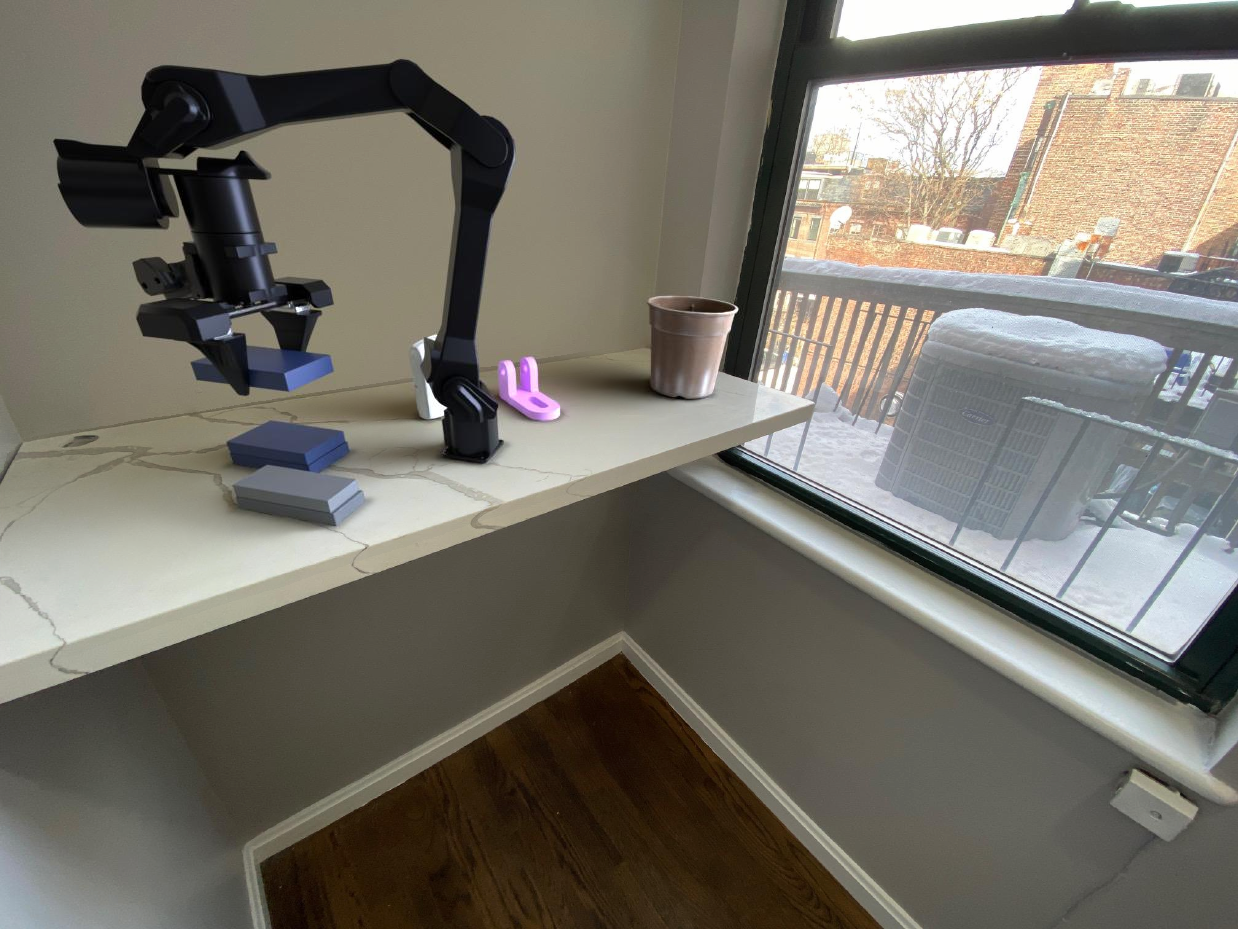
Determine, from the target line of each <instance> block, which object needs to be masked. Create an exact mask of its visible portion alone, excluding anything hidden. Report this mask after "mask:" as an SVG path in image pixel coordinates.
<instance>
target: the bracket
mask: <svg viewBox="0 0 1238 929" xmlns="http://www.w3.org/2000/svg"><path fill="white" fill-rule="evenodd" d="M537 364H538V363H537V361H536V359H535V358H534V357H533V356H526V357H525V356H524V357H521V359H520V361H519V372H520V373H519V374H520V375H519V376H520V385H517V374H516V368H515V365H514V363H513V362H512V361H511V360H510V359H504V360H500V361H498V365H497V374H498V375H497V376H498V391H499V398H500V399H502V400H503V401H504V402H506V403H507V404H508V405H510V406H511V407H513V408H514V409H516V410H517V411H519V412H520V413H522V414H523V415H524V416H526V417H527V418H528V419H530V420H535V421H552V420H554V419H557V418H559V417H560V416H561V404H560V403H559V402H557V401H555V400H554V399H553V398H550V397H549V396H547V395H546V394H544V393H543V392H541V391H540V390H539V377H538V376H539V375H538V374H539V372H538V371H539V370H538V365H537Z"/></svg>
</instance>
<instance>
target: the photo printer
mask: <svg viewBox="0 0 1238 929" xmlns="http://www.w3.org/2000/svg"><path fill="white" fill-rule="evenodd" d="M436 336H437V334H433V335H429V336H426V338H429V339H432V340H435V339H436ZM408 354H409V355H408V356H409V362H410V369H411V375H412V381H413V382H412V383H413V388H414V395H415V401H416V408H417V412H418V414H419V417H420V418H421V419H424V420H433V419H438V418H441V417H444V410H445V409H446V408H447V407H445V406H443V405H441V404H440V403H439V402H438V401H437V400H436V399H435V398H434V396H433V393H432V391H431V388H430V386H429V384H428V383H427V382H426V380H425V377H424V375H423V372H422V370H421V367H420V365H421V363H422V361H423V358H424V338H422V339H420V340H418V341H416V342H414V343H413V344H411V345H410V347H409V350H408Z"/></svg>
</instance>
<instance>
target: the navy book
mask: <svg viewBox="0 0 1238 929" xmlns="http://www.w3.org/2000/svg"><path fill="white" fill-rule="evenodd" d="M246 345H247V357H248V368H249V378H250V388H255V389H263V390H272V391H279V392H289V393H290V392H292V391H294V390H296V389H298V388H301V387H303V386H305V385H307V384H309V383H312V382H314V381H317V380H318V379H321V378H323V377H325V376H327V375H329V374H332V373H334V372H335V369H334V365H333V361H332V357H331V354H327V353H318V352H309V351H306V352H301V351H292V350H284V349H280V348H275V347H266V346H265V347H264V346H258V345H257V346H256V345H249V344H246ZM190 366H191V369H192V372H193V374H194V377H195V380H196V381H201V382H202V381H203V382H209V383H217V384H224V385H230V384H229V383H228V382H227V381H226V380H225V378H224V377H223V376H222V375H221V374H220V372H219V371H218V370H217V369H216V367H215V366H214V365H213V364H212V363H211V362H210V361H209V360H208V359H207V358H206V357H205V356H204V357H202V358H198V359H195V360H192V361H190Z"/></svg>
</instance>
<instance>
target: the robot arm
mask: <svg viewBox="0 0 1238 929" xmlns="http://www.w3.org/2000/svg"><path fill="white" fill-rule="evenodd" d="M140 89H141V90H140V96H141V97H140V98H141V102H142V104H143V108H144V112H143V114H142V116H141V117H140V120H139V122H138V123H137V125H136V128H135V129H134V131H133V133H132V136H131V137H130V139H129V141H128V143H127V145H126V146H125V145H115V144H114V145H112V144H101V143H100V144H97V143H91V142H87V141H84V140H77V139H66V138H54V139H53V140H52V144H53V145H54V148H55V151H56V153H57V157H56V158H57V159H56V171H57V177H58V180H59V182H58V183H57V187H58V190H59V193H60V195H61V198H62V199H63V201H64V204H65V205H66V207H67V209H68V211H69V212H70V214H71V215H72V217H73V218H74V219H75V220H76V221H77V223H79V225H81V226H82V227H83V228H86V229H107V230H108V229H111V230H113V229H114V230H161V231H162V230H163V231H164V230H166V231H167V230H168V229H169V228H170V219H179V217H180V207H179V202H178V198H179V200H180V203H181V206H182V209H183V213H184V216H185V219H186V222H187V226H188V228H189V232H190V235H191V238H192V240H190V241H182V244H183V246H182V249H181V250H182V252H183V255H184V259H183V260H180V261H177V262H170V263H167V261H166V260H164V259H163V258H162V257H160V256H151V257H150V256H149V257H141V258H139V259H137V260H134V261H132V262H131V263H132V268H133V271H134V274H135V278H136V281H137V283H138V284H139V286H140V287H141V289H142V290H143V292H144V293H145V294H146V295H148V296H150V297H155V296H160V295H163V297H164V299H161V300H156V301H151V302H146V303H140V305H139V307H138V308H137V311H136V312H135V319H136V322H137V325H138V327H139V331H140V333H141V335H142V337H146V338H154V339H164V340H171V341H174V342H175V341H177V342H184V343H187V344H189V345H191V347H194V348H195V349H197V350H198V351H199V352H200V353H201V354H202V355H203V356H204V358H205V357H206V358H207V359H208V360H209V361H210V362H211V363H212V364H213V365H214V366H215V367H216V369H217V370H218V371H219V372H220V374H221V375H222V376H223V377H224V378H225V380H226V381H227V382H228V383H229V384H228V385H229V386H230V387H231V388H232V389H233V391H234V392H235V393H236V394H237V395H238V396H242V397H248V396H250V391H251V387H250V378H249V368H248V357H247V345H248V344H247V335H246V333H245V332H236V331H233V328H232V325H233V323H232V320H233V319H238V318H241V317H245V316H246V317H247V316H249V315H253V314H258V313H260V314H261V315H262V317H263V318H264V319H266V321H267V322H268V323H269V324H270V325H271V326H272V328H273V330H274V333H275V336H276V340H277V343H278V347H279V349H284V350H292V351H301V352H307V350H308V346H309V343H310V340H311V337H312V335H313V332H314V329H315V327H316V324H317V321H318V319H319V317H321V316H323V311H322V310H321V309H323V308H326V307H331V306H334V305H335V303H334V298H333V292H332V288H331V287H330V286H329V285H328V283H326V282H325V281H324V280H323V279H320V278H319V279H318V278H307V277H297V276H284V277H279V278H275V277H274V273H273V269H272V266H271V261H270V256H269V255H273V254H274V255H275V254H278V248H277V245H276V242H274V241H273V242H271V241H265V237H264V234H263V230H262V226H261V222H260V219H259V214H258V210H257V207H256V206H257V205H256V203H255V198H254V195H253V194H254V193H253V191H252V186H251V183H250V180H253V181H255V180H256V181H268V180H271V179H272V173H271V172H270V171H269V170H268V169H266V168H264V167H263V166H262V165H260V164H259V163H258V162H257V161H256V160H255V159H254V158H253V156H252V155H251V154H250V153H249V151H247V150H243V149H242V150H239V152H238V153H237V155H236V156H235V158H227V157H211V156H197V157H196V163H195V164H196V169H191V168H174V167H173V168H171V167H161V166H160V164H159V159H165V160H166V159H167V160H182V161H183V160H185V159H186V158H188V157H189V156H190V155H192V154H193V153H194V152H196V151H198V150H199V149H200V150H207V151H219V150H223V149H225V148H229V147H232V146H234V145H237V144H240V143H243V142H246V141H248V140H251V139H254V138H258V137H259V136H261V135H264V134H267V133H269V132H272V131H275V130H279V129H281V128H283V127H288V126H296V125H297V126H299V125H304V124H313V123H321V122H328V121H329V122H330V121H337V120H344V119H353V118H361V117H370V116H377V115H385V114H393V113H394V114H395V113H403V114H405V115H406V116H407V117H409V118H410V119H411V120H413V121H414V122H415V123H416V124H417V125H418V126H419V127H420V128H422V130H424V132H426V133H427V134H428V135H429V136H431V138H433V139H434V140H435V141H436V142H438V143H439V144H440V145H442V146H443V147H444V148H445V149H447V150H448V151H449V156H450V174H451V184H452V190H453V199H454V215H453V224H452V232H451V239H450V250H449V256H448V257H449V258H448V266H447V273H446V274H447V275H446V283H445V290H444V298H443V299H444V300H443V306H442V307H443V308H442V317H441V325H440V328H439V330H438V332H437V333H436V335H437V336H436V339H435V340H432V339H429V338H427V336H425V337H423V339H424V358H423V361H422V363H421V365H420V367H421V370H422V372H423V375H424V377H425V380H426V382H427V383H428V384H429V386H430V388H431V391H432V393H433V396H434V398H435V399H436V400H437V401H438V402H439V403H440V404H441V405H443V406H445V407H447V408H446V409H445V410H444V416H443V418H442V419H441V426H442V435H443V444H444V447H445V449H444V450H443V451H442V453H441V456H442V457H444V458H449V459H456V460H462V461H468V462H469V461H470V462H475V463H482V464H483V463H487V462H489V461H490V460H491V459H492V457H493V456H494V455H495V454H496V453H497V452H498V451H499V450H500V449H501V448H502V447H503V445H505V440H504V439H500V438H499V437H500V436H499V421H498V420H499V419H498V410H499V403H498V402H497V400H496V398H495V397H494V396H493V394H492V392H491V391H490V389H489V388H488V387H487V385H486V384H485V382H484V381H482V380H481V379H480V362H479V356H478V349H477V348H478V346H477V340H476V339H477V338H476V336H477V328H478V322H479V321H478V320H479V314H480V308H481V300H482V294H483V287H484V282H485V280H484V279H485V272H486V267H487V259H488V252H489V247H490V237H491V233H492V232H491V231H492V225H493V219H494V215H495V213H496V210H497V208H498V206H499V204H500V202H501V200H502V198H503V195H504V194H505V191H506V189H507V187H508V184H509V183H508V182H509V179H510V176H511V173H512V171H513V167H514V164H515V160H516V152H517V151H516V148H517V147H516V144H515V143H516V142H515V139H514V138H513V136H512V134H511V132H510V130H509V129H508V128H507V126H505V124H504V123H503V122H502V121H501V120H499V119H497V118H495V117H494V116H490V115H485V114H483V115H481V114H479V113H478V111H476V110H475V109H474V108H473V107H472V106H470V105H469V104H468V103H466V102H465V101H464V100H463V99H461V98H460V97H458V96H457V95H456V94H454V93H453V92H451V91H450V90H448V89H447V88H446V87H444V86H443V85H441V84H440V83H438V82H437V81H436V80H434V79H433V78H432V77H430V75H429V74H427V73H426V72H425V71H424V69H422V68H421V66H419V65H418V63H416V62H414V61H412V60H410V59H406V58H398V59H395V60H394V61H391V62H388V63H380V64H369V65H368V64H367V65H358V66H348V67H338V68H327V69H326V68H325V69H318V70H317V69H316V70H315V69H314V70H306V71H296V72H285V73H273V74H265V75H261V74H260V75H259V74H248V73H240V72H234V71H228V70H221V69H216V68H206V67H196V66H195V67H194V66H184V65H173V64H162V65H158V66H155V67H152V68H151V69H149V70H148V71H147V72H146V73H145V76H144V78H143V80H142V83H141V86H140ZM170 176H172V178H173V181H174V184H175V187H176V190H177V194H178V198H177V194H176V192H175V188H174V187H173V184H172V181H171V179H170ZM207 299H209V300H207ZM311 306H312V307H313V309H312V308H311Z"/></svg>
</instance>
